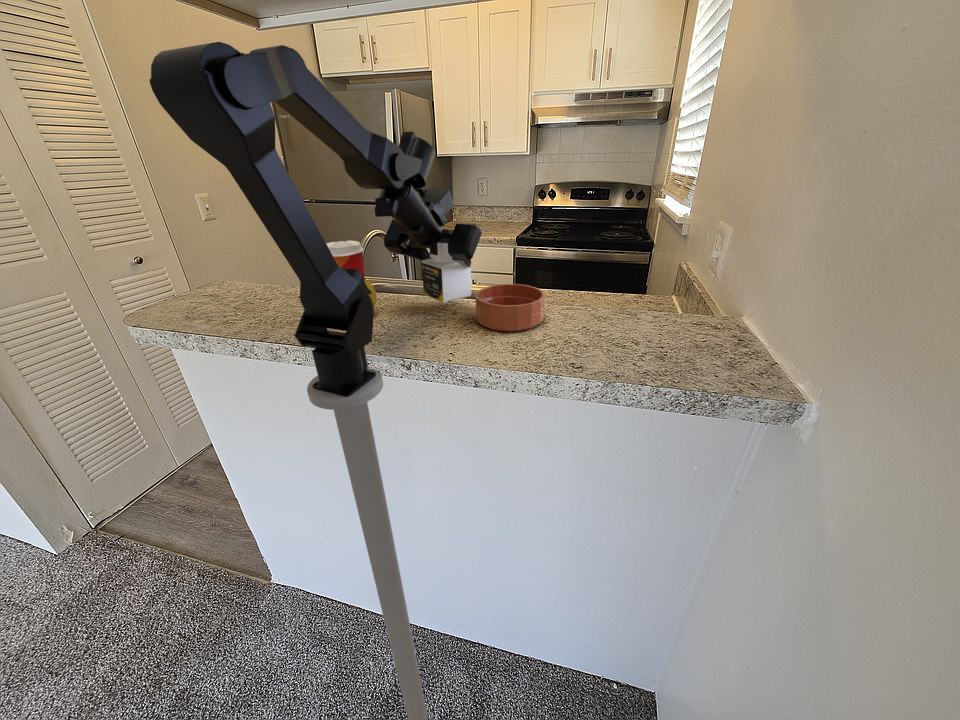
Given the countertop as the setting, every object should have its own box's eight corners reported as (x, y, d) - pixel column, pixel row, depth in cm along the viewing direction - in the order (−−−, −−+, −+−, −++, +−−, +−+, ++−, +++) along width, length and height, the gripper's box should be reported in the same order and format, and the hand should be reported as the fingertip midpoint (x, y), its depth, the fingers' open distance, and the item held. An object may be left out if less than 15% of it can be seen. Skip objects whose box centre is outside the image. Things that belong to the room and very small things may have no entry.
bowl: (531, 337, 69) (532, 309, 67) (465, 327, 74) (464, 301, 72) (550, 312, 79) (552, 287, 77) (492, 304, 84) (491, 281, 82)
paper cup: (334, 311, 83) (319, 242, 76) (372, 306, 85) (361, 238, 78) (334, 325, 76) (317, 250, 70) (375, 319, 78) (363, 246, 72)
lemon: (375, 320, 78) (368, 280, 75) (346, 320, 79) (339, 280, 75) (381, 310, 83) (376, 272, 80) (355, 310, 83) (348, 272, 80)
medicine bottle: (423, 295, 83) (418, 234, 77) (451, 288, 87) (449, 230, 81) (442, 303, 78) (439, 239, 72) (472, 296, 82) (470, 235, 76)
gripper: (474, 172, 64) (505, 232, 78) (385, 172, 73) (426, 226, 86) (450, 231, 62) (486, 282, 76) (361, 224, 70) (407, 271, 84)
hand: (450, 263), depth 80 cm, fingers closed on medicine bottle, 9 cm apart
